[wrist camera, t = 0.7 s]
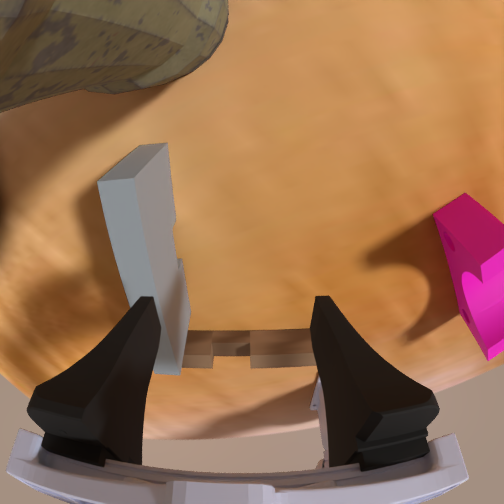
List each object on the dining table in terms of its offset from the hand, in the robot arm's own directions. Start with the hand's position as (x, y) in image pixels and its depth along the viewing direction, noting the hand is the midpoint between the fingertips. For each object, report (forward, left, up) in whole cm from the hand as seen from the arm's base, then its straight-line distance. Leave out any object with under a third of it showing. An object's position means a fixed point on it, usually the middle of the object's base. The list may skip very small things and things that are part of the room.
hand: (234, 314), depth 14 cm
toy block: (-4, -23, -11) cm, 25 cm away
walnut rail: (-13, +1, -10) cm, 17 cm away
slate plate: (-2, +6, -10) cm, 12 cm away
